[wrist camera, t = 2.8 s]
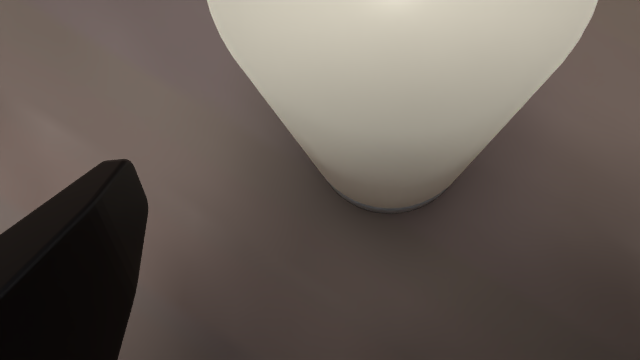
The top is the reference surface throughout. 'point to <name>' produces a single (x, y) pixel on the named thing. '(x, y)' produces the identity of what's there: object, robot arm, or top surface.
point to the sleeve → (397, 81)
